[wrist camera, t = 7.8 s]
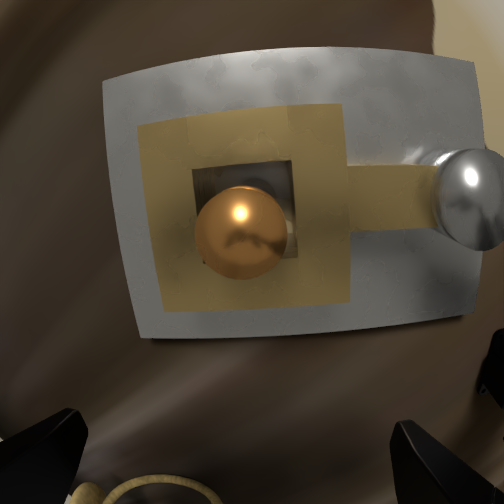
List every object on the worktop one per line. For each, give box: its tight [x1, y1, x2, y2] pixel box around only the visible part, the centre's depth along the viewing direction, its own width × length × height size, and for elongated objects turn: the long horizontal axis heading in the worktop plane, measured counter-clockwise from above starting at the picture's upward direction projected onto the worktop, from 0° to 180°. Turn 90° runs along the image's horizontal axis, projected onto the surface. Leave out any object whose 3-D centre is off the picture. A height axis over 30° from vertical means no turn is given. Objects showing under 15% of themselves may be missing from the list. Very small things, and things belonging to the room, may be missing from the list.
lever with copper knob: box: [195, 178, 288, 280], centre depth 13 cm, size 3×3×8 cm
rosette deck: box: [103, 47, 504, 338], centre depth 15 cm, size 22×16×6 cm
